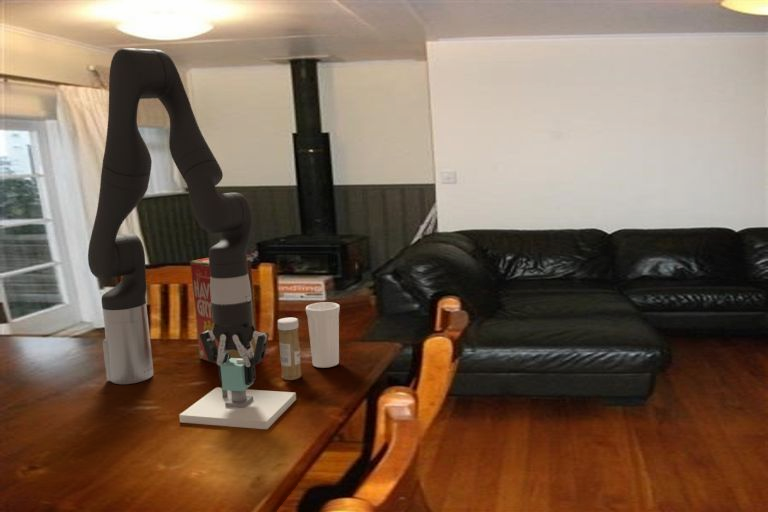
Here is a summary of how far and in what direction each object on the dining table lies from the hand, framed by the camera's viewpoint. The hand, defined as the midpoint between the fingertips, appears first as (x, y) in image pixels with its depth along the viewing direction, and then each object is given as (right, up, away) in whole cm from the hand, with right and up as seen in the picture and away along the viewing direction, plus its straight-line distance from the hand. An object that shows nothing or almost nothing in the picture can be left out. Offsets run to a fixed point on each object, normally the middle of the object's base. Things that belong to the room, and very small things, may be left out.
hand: (238, 382), depth 122 cm
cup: (+15, -1, +26) cm, 30 cm away
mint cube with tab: (0, -1, 0) cm, 1 cm away
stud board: (0, -6, +1) cm, 6 cm away
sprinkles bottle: (+8, -3, +18) cm, 20 cm away
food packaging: (-10, -1, +33) cm, 35 cm away
